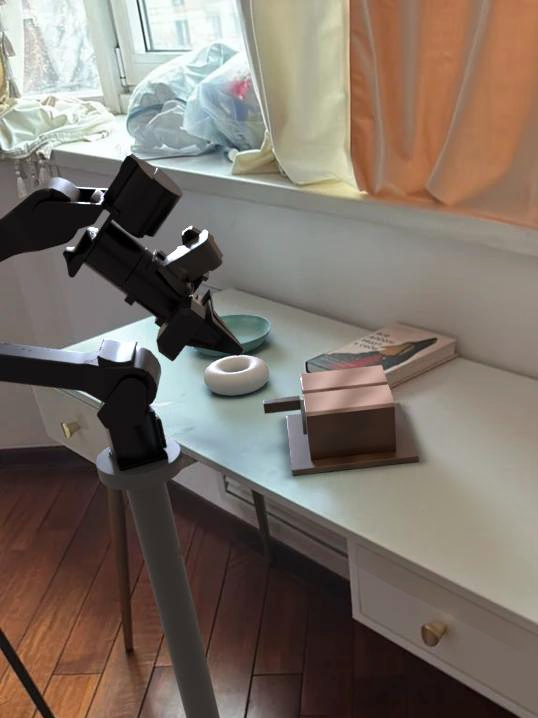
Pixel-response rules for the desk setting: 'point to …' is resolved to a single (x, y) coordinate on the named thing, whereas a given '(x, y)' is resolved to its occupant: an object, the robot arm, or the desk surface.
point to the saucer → (244, 331)
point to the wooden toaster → (348, 423)
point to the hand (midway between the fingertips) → (241, 352)
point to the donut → (236, 375)
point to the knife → (286, 407)
